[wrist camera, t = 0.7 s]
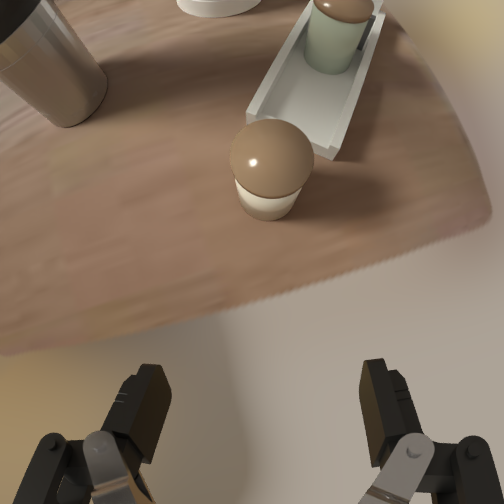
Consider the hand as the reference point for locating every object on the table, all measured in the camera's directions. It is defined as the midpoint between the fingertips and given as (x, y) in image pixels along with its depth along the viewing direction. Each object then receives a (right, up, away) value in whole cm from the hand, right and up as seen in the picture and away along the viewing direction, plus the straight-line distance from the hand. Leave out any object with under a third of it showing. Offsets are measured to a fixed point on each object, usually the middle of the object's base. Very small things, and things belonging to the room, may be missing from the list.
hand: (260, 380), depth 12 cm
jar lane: (+8, +27, +21) cm, 35 cm away
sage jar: (+8, +28, +19) cm, 35 cm away
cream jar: (+1, +11, +19) cm, 22 cm away
